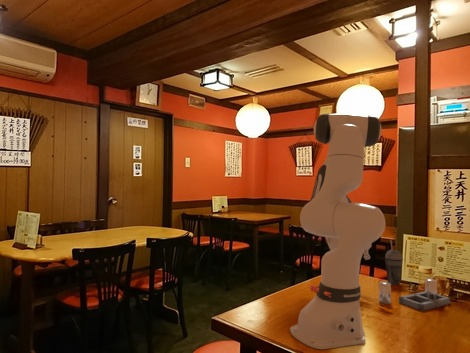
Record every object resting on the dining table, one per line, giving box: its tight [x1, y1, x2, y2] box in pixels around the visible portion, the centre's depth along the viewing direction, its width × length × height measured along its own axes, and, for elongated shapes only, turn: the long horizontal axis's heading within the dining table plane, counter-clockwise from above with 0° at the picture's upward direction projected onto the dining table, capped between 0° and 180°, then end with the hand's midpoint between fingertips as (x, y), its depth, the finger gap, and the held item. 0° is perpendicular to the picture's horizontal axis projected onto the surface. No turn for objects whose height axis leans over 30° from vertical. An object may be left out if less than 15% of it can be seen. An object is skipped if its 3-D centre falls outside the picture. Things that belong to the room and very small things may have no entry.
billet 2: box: [424, 277, 438, 300], centre depth 127 cm, size 4×4×8 cm
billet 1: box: [378, 281, 392, 308], centre depth 126 cm, size 4×4×8 cm
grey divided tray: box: [398, 290, 451, 312], centre depth 125 cm, size 16×9×3 cm, turn 117°
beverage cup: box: [384, 239, 404, 286], centre depth 150 cm, size 7×7×20 cm
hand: (359, 260), depth 137 cm, fingers open, 8 cm apart
